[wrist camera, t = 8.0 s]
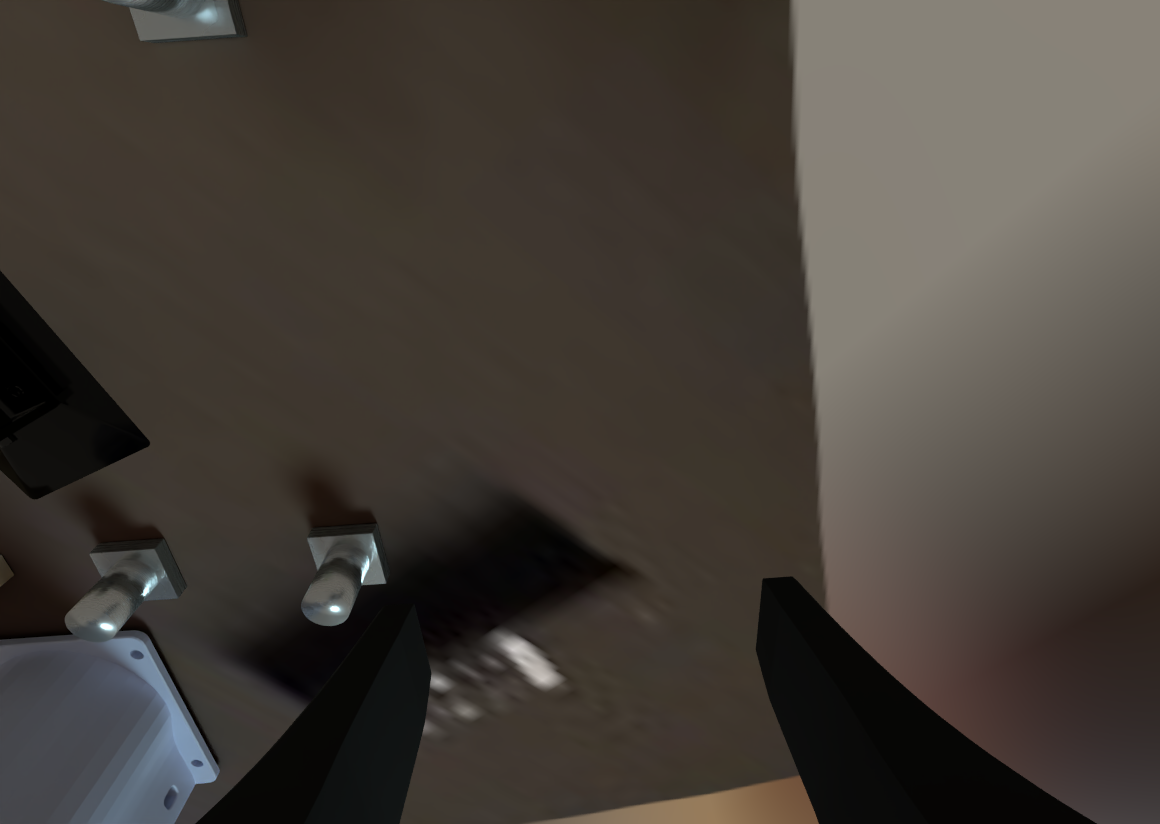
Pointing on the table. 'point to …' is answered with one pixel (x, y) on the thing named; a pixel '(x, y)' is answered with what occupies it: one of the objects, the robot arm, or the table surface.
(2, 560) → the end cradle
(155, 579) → the guide pins
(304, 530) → the table surface
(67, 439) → the black boxy piece
